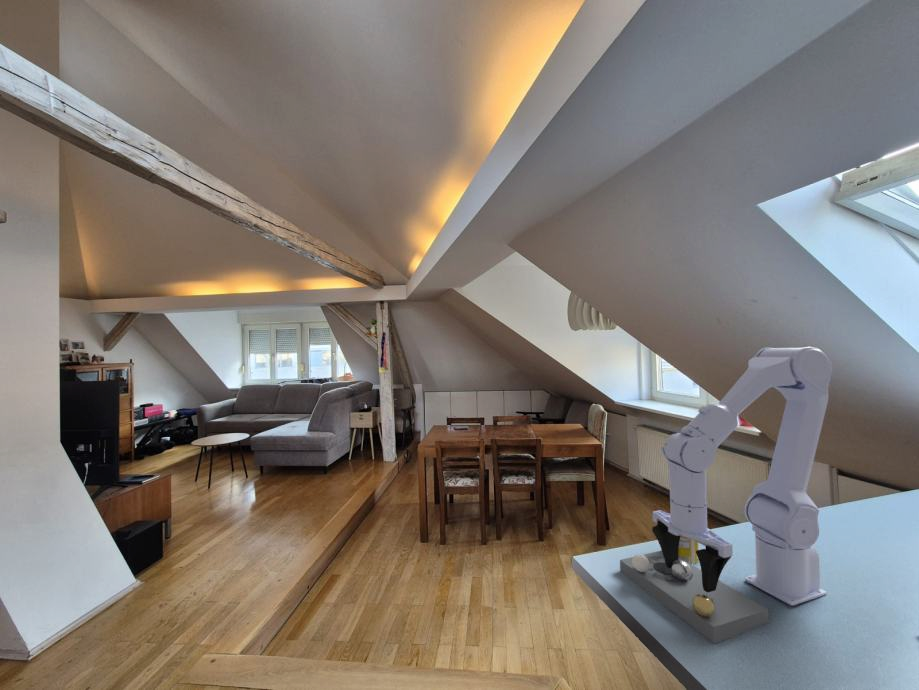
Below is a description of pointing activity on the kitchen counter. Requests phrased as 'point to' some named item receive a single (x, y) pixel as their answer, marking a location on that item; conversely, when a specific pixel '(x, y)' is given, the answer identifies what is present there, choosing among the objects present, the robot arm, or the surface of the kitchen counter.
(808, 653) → the kitchen counter surface
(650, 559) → the plate
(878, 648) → the kitchen counter surface
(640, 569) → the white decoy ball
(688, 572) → the steel ball
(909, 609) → the kitchen counter surface
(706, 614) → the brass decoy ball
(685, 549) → the supplement bottle
